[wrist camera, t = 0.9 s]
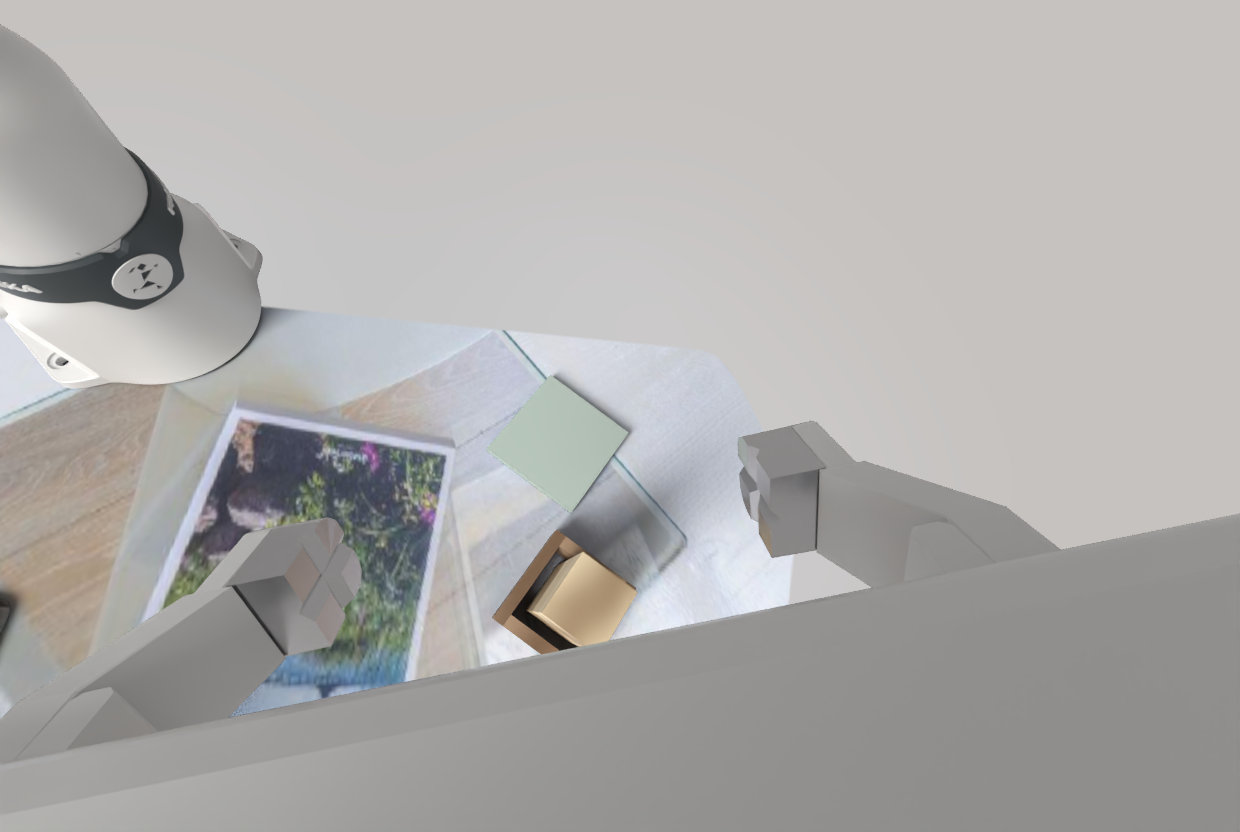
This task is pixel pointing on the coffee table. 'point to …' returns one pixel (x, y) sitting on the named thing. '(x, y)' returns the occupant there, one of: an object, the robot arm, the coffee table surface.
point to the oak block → (582, 601)
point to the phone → (3, 612)
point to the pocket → (503, 614)
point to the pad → (558, 443)
